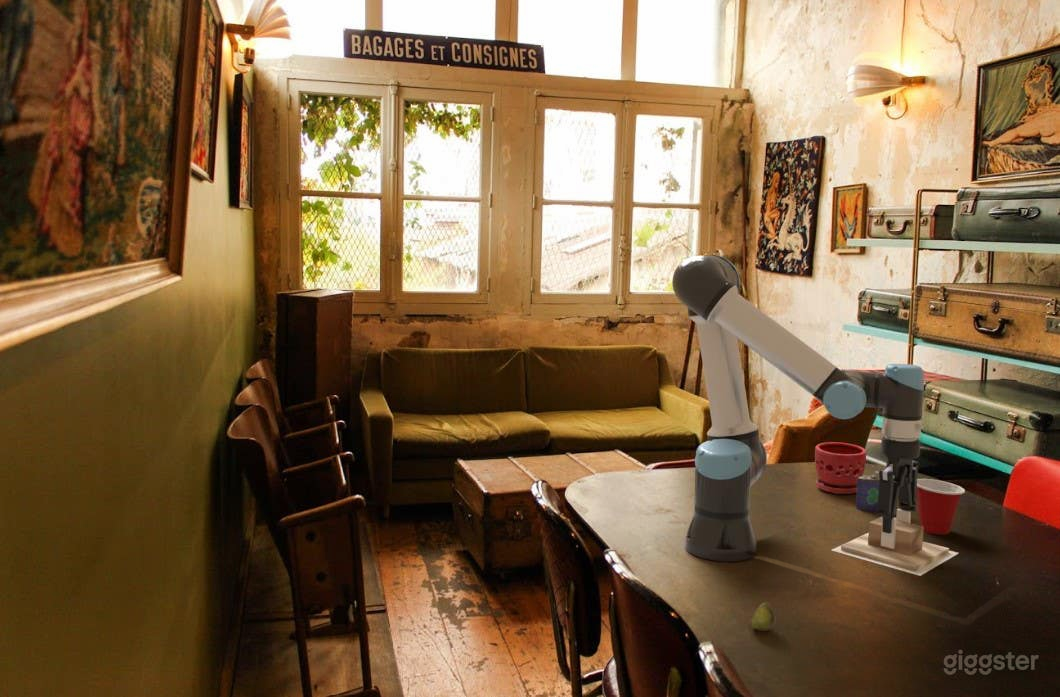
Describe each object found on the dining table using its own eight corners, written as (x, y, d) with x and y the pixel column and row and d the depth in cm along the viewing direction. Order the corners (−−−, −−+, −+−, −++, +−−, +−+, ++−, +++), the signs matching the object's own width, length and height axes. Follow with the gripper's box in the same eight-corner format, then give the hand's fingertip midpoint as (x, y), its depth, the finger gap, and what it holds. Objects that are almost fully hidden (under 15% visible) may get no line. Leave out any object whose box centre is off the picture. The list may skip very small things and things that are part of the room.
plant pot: (803, 486, 232) (805, 444, 230) (838, 481, 237) (840, 440, 236) (838, 499, 220) (840, 455, 219) (875, 493, 225) (877, 450, 224)
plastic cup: (968, 544, 187) (971, 491, 185) (916, 540, 189) (919, 489, 187) (954, 528, 197) (957, 479, 196) (905, 525, 199) (908, 476, 198)
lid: (915, 571, 168) (917, 542, 167) (840, 550, 180) (842, 523, 179) (948, 552, 178) (950, 525, 178) (875, 533, 190) (877, 508, 189)
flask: (891, 511, 210) (893, 469, 209) (895, 515, 207) (898, 473, 206) (854, 510, 210) (855, 469, 209) (858, 514, 207) (860, 472, 206)
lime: (750, 635, 142) (751, 607, 141) (748, 622, 147) (749, 595, 146) (777, 637, 141) (778, 609, 141) (774, 624, 146) (775, 597, 145)
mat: (919, 580, 166) (920, 575, 166) (830, 554, 180) (830, 550, 180) (958, 557, 178) (958, 553, 178) (872, 534, 192) (872, 530, 192)
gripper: (898, 447, 167) (892, 558, 170) (938, 434, 179) (931, 537, 182) (862, 441, 172) (856, 548, 175) (903, 428, 185) (897, 529, 188)
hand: (895, 543), depth 179 cm, fingers closed on lid, 6 cm apart
